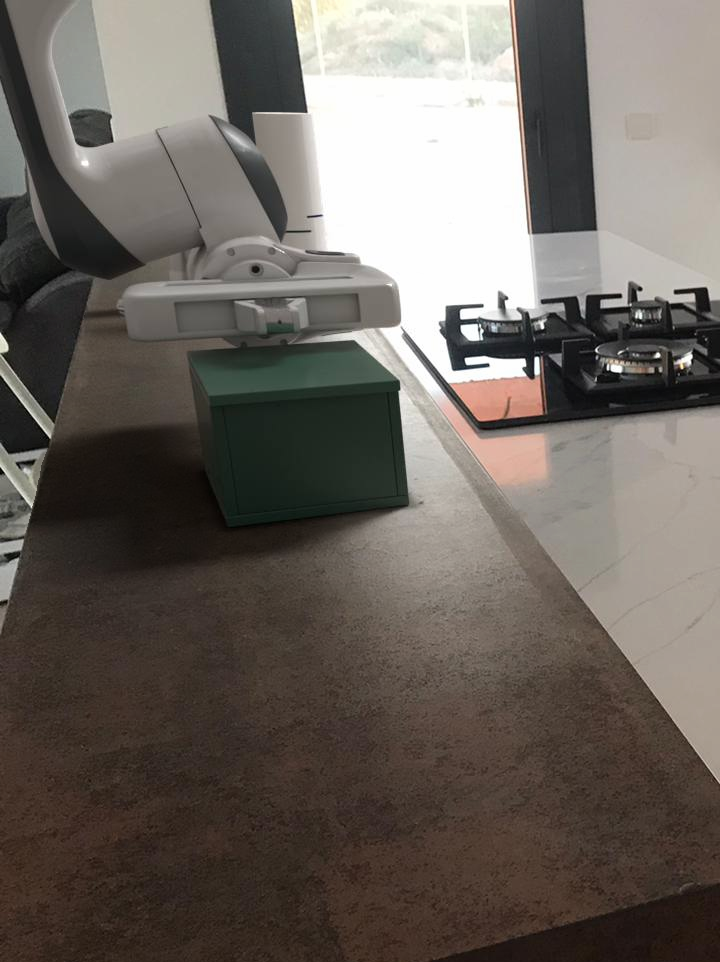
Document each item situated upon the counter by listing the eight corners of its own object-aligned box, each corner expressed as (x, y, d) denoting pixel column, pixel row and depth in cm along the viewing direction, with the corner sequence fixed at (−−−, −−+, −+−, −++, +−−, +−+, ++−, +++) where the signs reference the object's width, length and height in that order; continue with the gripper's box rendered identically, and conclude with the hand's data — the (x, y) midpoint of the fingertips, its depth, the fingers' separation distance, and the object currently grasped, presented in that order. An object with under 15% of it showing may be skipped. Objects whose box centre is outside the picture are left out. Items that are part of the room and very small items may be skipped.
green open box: (409, 505, 96) (398, 388, 92) (228, 527, 90) (209, 404, 87) (366, 453, 108) (355, 350, 105) (205, 471, 103) (188, 361, 99)
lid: (401, 391, 92) (400, 379, 91) (210, 407, 86) (208, 395, 86) (355, 349, 105) (354, 339, 105) (187, 361, 99) (186, 350, 99)
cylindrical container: (345, 312, 172) (324, 114, 163) (302, 319, 167) (277, 114, 157) (309, 306, 176) (286, 112, 166) (266, 313, 170) (239, 112, 161)
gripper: (108, 261, 101) (116, 285, 89) (375, 252, 110) (412, 273, 99) (122, 341, 103) (131, 375, 92) (382, 326, 112) (419, 354, 101)
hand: (279, 322), depth 95 cm, fingers closed
